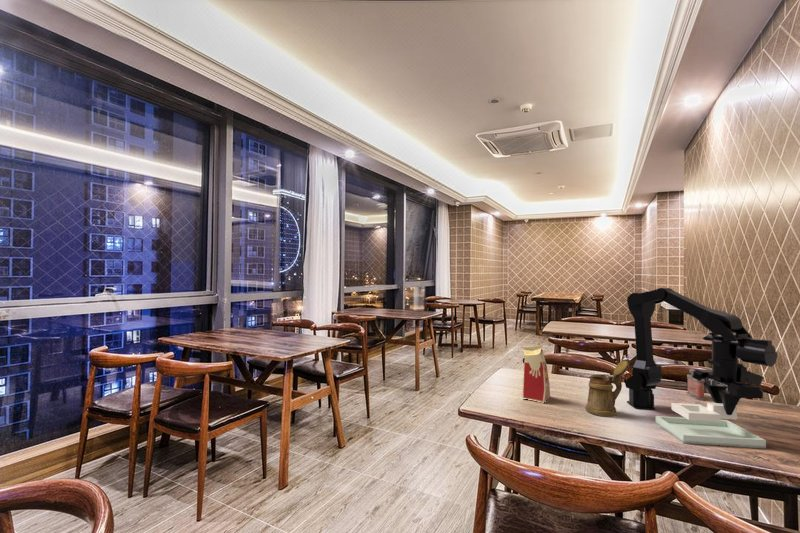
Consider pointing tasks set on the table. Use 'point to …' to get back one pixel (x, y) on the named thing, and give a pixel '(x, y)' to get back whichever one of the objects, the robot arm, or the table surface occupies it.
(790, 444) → the table surface
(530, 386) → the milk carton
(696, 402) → the grey knob with bar
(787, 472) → the table surface
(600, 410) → the wooden mug
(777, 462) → the table surface
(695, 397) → the lighter
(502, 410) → the table surface
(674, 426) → the tray
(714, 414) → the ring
